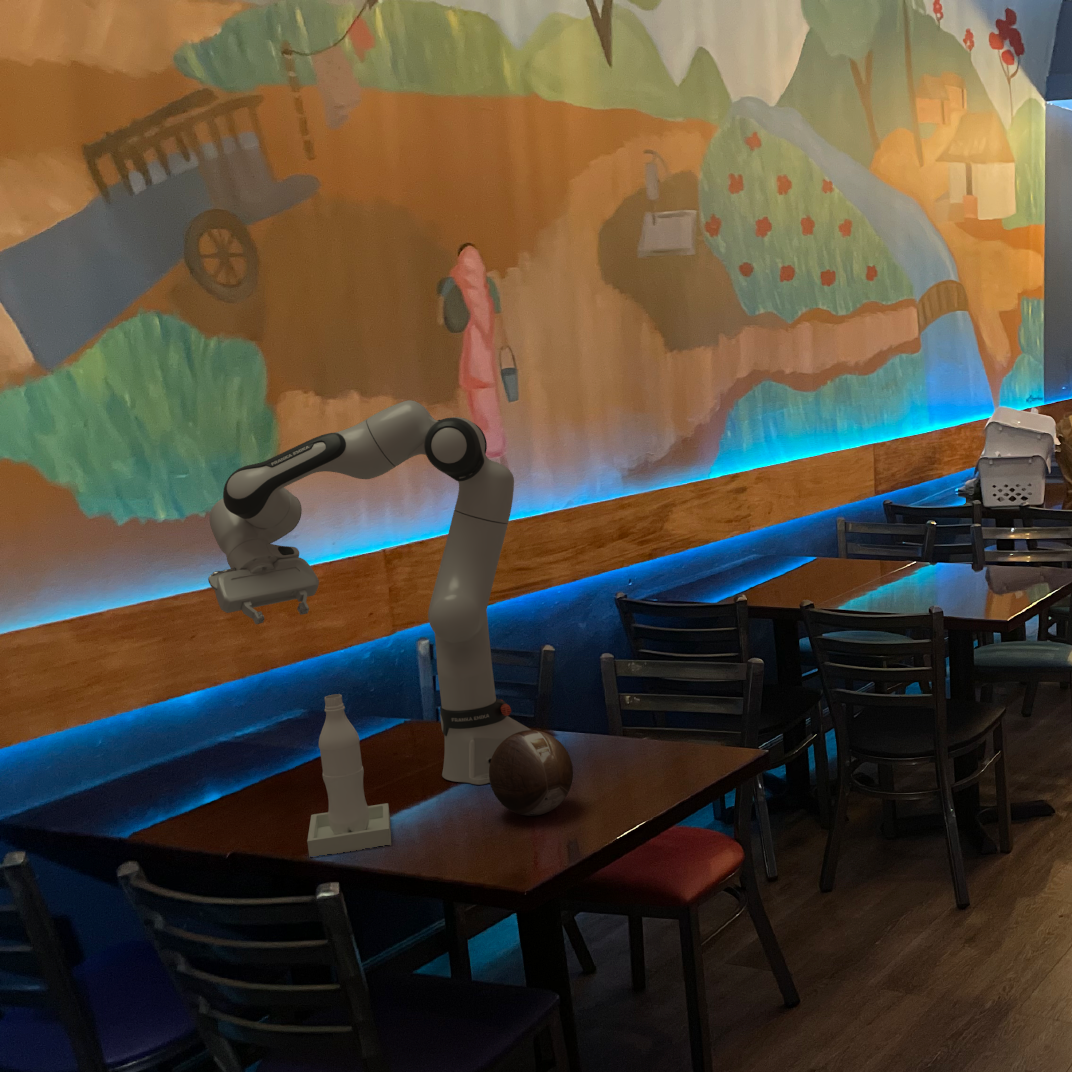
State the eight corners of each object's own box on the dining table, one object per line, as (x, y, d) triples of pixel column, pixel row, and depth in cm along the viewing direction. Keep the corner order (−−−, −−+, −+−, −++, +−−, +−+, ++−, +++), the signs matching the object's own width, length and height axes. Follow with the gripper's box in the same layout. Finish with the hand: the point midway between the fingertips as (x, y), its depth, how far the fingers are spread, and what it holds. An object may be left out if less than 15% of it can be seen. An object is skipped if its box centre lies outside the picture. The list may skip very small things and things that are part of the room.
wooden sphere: (537, 833, 206) (527, 748, 204) (476, 820, 216) (466, 738, 215) (594, 806, 217) (585, 725, 215) (533, 794, 227) (524, 716, 225)
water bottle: (363, 840, 210) (345, 700, 207) (324, 841, 212) (306, 703, 209) (376, 825, 217) (359, 690, 214) (339, 827, 218) (321, 692, 216)
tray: (390, 818, 222) (388, 803, 222) (391, 845, 208) (389, 828, 208) (313, 830, 221) (311, 814, 220) (309, 857, 207) (307, 841, 206)
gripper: (207, 562, 231) (235, 616, 224) (304, 546, 243) (333, 596, 237) (201, 584, 235) (229, 638, 228) (297, 566, 247) (325, 617, 241)
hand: (283, 616), depth 232 cm, fingers open, 8 cm apart
